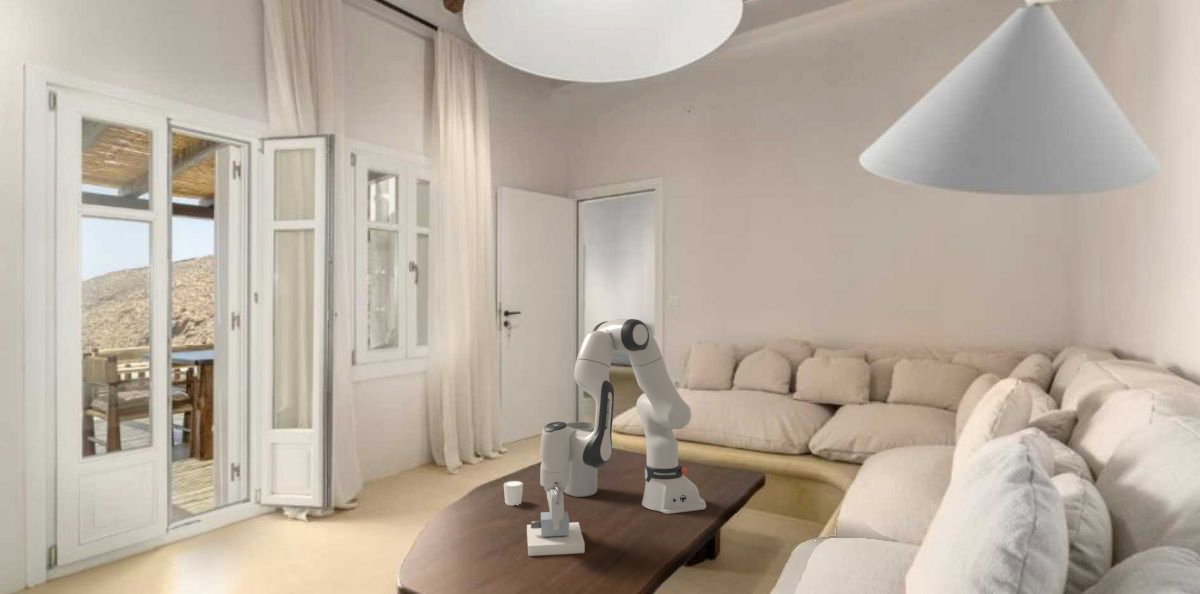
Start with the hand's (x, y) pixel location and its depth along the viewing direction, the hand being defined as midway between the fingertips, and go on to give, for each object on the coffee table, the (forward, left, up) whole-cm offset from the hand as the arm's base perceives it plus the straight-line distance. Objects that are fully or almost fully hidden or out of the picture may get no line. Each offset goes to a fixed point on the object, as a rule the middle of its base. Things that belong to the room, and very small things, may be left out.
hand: (554, 524), depth 180 cm
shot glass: (+12, -36, -6) cm, 38 cm away
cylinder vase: (-13, -45, -6) cm, 47 cm away
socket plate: (0, 0, -6) cm, 6 cm away
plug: (+2, 0, -5) cm, 6 cm away
